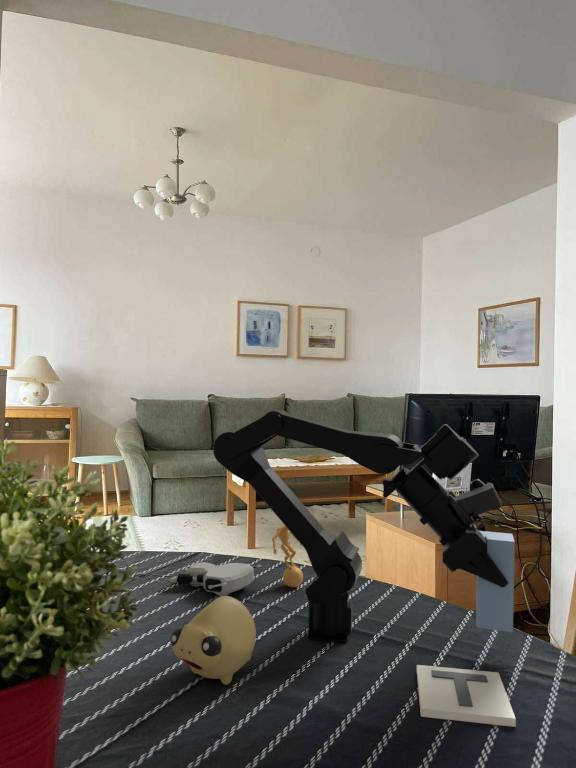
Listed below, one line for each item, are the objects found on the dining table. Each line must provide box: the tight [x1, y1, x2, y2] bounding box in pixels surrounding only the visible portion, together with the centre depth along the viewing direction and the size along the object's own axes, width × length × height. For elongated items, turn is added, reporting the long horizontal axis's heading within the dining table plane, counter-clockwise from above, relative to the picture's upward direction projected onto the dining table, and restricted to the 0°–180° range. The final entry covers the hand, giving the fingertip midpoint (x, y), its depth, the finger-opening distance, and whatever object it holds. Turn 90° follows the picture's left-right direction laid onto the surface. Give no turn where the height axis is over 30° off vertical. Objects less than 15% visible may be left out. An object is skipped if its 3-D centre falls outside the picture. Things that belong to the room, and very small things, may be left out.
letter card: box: [416, 664, 517, 728], centre depth 75 cm, size 11×11×1 cm
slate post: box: [475, 530, 516, 633], centre depth 86 cm, size 5×5×13 cm
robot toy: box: [169, 561, 262, 597], centre depth 114 cm, size 12×4×15 cm
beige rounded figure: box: [170, 595, 257, 686], centre depth 79 cm, size 10×12×11 cm
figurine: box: [271, 525, 304, 588], centre depth 115 cm, size 8×6×12 cm
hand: (504, 579), depth 86 cm, fingers closed on slate post, 5 cm apart
